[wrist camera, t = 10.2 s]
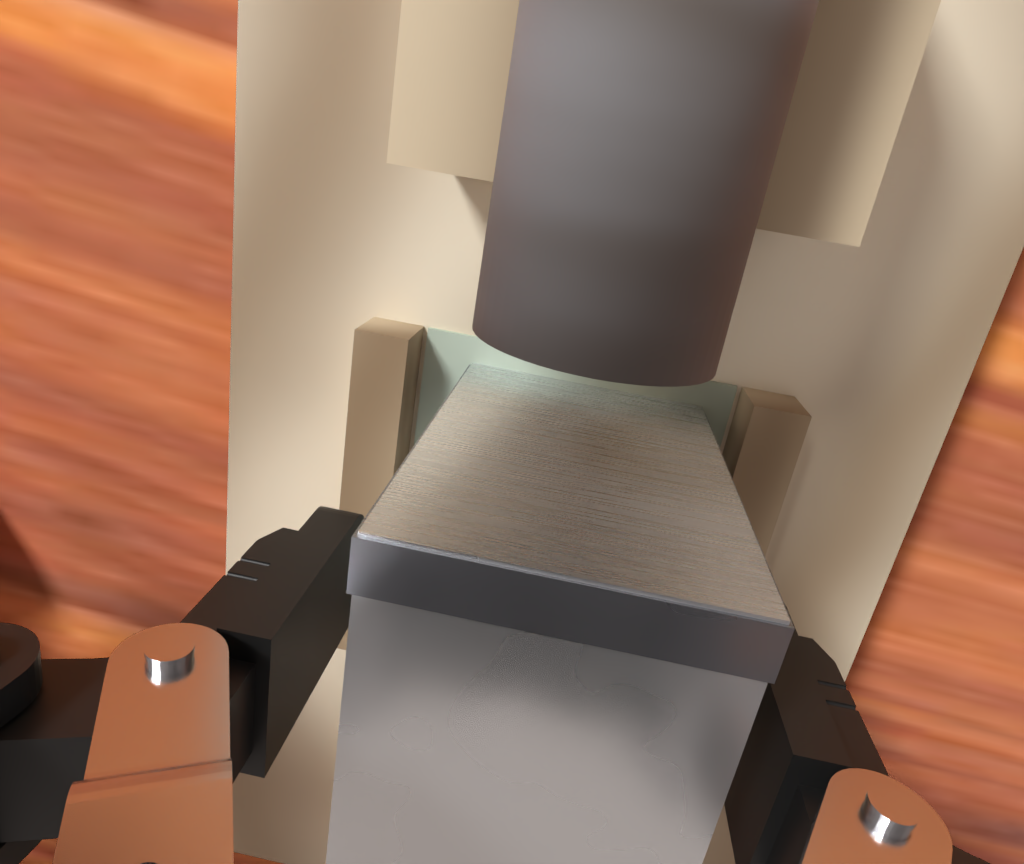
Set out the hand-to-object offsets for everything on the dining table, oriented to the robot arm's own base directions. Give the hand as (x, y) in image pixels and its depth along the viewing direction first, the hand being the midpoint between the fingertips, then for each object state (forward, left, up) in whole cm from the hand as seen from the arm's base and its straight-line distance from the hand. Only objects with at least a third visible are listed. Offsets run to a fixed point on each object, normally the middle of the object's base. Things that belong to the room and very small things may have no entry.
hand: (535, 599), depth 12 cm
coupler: (0, 0, -3) cm, 3 cm away
